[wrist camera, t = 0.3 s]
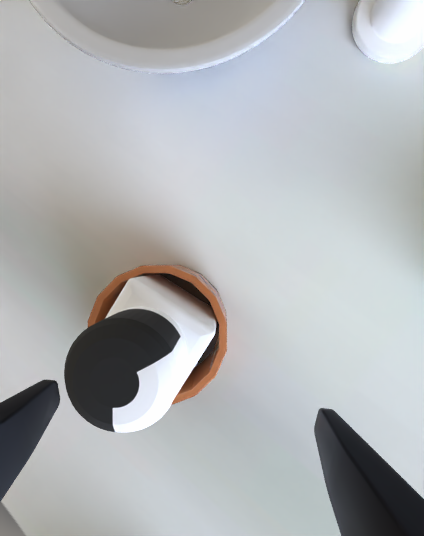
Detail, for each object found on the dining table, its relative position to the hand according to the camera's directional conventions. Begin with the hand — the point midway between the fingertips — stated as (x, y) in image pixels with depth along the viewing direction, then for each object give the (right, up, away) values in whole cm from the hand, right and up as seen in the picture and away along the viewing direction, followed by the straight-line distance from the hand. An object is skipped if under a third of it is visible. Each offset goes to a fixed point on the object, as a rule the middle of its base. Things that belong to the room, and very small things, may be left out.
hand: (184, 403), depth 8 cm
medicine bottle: (-3, -1, +16) cm, 16 cm away
